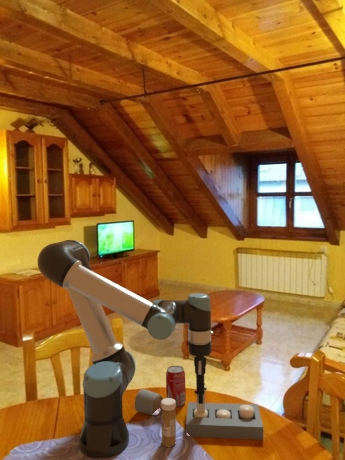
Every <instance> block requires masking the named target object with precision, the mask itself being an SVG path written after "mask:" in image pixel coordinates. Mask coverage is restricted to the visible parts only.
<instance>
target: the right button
mask: <svg viewBox="0 0 345 460" xmlns="http://www.w3.org/2000/svg"><path fill="white" fill-rule="evenodd" d="M239 417H240V419H254V408H253V407H252V406H250V405H241V406H240V407H239Z"/></svg>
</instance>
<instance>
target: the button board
mask: <svg viewBox="0 0 345 460" xmlns="http://www.w3.org/2000/svg"><path fill="white" fill-rule="evenodd" d="M241 405H250V406H252V407H253V408H254V419H240V417H239V407H240V406H241ZM195 409H197V402H192V401H191V402H189V401H188V404H187V411H186V420H185V434H186V433H188V434H189V435H190V436H191V437H193V438H212V439H214V438H215V439H237V440H238V439H239V440H241V439H242V440H264V425H263V420H262V416H261V412H260V408H259V404H257V403H255V404H253V403H226V402H225V403H220V402H219V403H218V402H205V409H206V410H207V411H208V418H200V417H194V410H195ZM218 410H228V411H229V412H230V413H231V419H228V418H217V415H216V413H217V411H218ZM191 437H190V438H191Z"/></svg>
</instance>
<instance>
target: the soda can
mask: <svg viewBox="0 0 345 460" xmlns="http://www.w3.org/2000/svg"><path fill="white" fill-rule="evenodd" d="M165 387H166V388H165V389H166V390H165V391H166V392H165V394H166V395H165V397H166V398H172V399H174V400H175V401H176V408H177V407H178V408H179V407H181V406H183V405H184V404H185V403H186V400H187V398H186V397H187V396H186V395H187V394H186V372H185V369H184V367H183V366H182V365H171V366H168V367H167V368H166V372H165Z"/></svg>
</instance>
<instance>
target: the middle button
mask: <svg viewBox="0 0 345 460" xmlns="http://www.w3.org/2000/svg"><path fill="white" fill-rule="evenodd" d="M216 415H217V418H228V419H231V413H230V412H229V411H228V410H218V411H217V413H216Z"/></svg>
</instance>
